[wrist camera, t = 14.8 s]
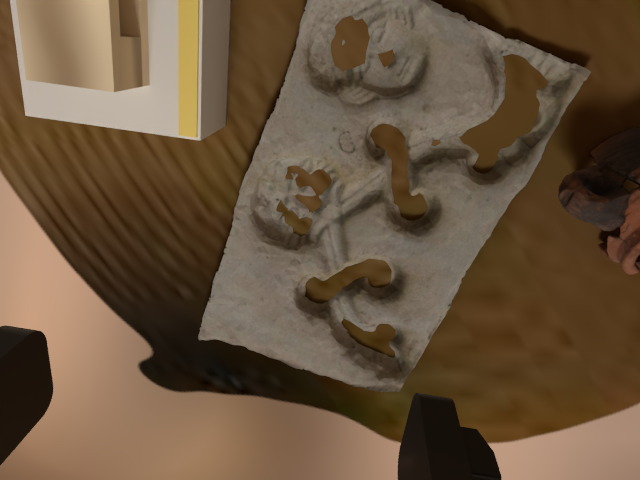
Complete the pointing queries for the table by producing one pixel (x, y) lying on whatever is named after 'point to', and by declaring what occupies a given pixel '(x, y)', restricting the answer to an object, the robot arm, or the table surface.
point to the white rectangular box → (153, 77)
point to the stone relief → (375, 187)
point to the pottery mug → (610, 196)
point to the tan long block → (85, 42)
